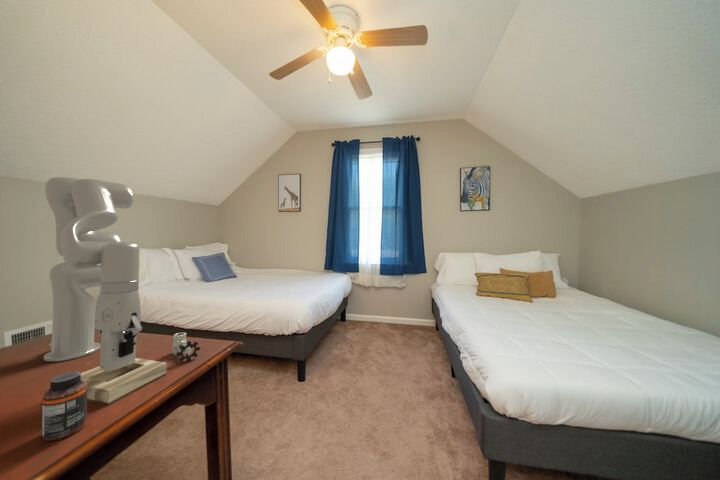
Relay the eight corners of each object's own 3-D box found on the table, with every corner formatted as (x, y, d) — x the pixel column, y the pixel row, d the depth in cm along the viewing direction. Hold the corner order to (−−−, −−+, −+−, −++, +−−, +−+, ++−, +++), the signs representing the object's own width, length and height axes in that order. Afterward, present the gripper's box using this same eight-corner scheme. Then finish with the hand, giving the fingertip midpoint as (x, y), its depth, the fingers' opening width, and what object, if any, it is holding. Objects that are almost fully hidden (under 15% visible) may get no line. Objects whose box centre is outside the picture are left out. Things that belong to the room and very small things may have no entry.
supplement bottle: (65, 421, 53) (67, 368, 53) (95, 420, 54) (96, 368, 54) (30, 443, 47) (32, 384, 47) (64, 442, 48) (66, 383, 48)
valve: (166, 354, 85) (176, 365, 78) (166, 335, 85) (177, 344, 78) (188, 348, 90) (200, 358, 83) (188, 330, 90) (200, 338, 83)
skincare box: (108, 372, 63) (109, 326, 64) (98, 369, 65) (100, 323, 65) (137, 362, 69) (138, 319, 69) (127, 359, 71) (129, 317, 71)
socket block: (60, 395, 62) (60, 381, 62) (124, 367, 75) (124, 356, 75) (108, 405, 58) (108, 390, 58) (166, 374, 72) (166, 362, 72)
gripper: (79, 288, 65) (77, 356, 65) (128, 291, 62) (126, 364, 61) (113, 283, 73) (111, 345, 72) (158, 286, 69) (157, 351, 69)
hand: (118, 353), depth 67 cm, fingers closed on skincare box, 4 cm apart
